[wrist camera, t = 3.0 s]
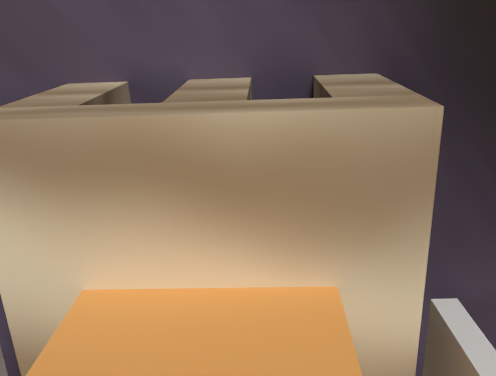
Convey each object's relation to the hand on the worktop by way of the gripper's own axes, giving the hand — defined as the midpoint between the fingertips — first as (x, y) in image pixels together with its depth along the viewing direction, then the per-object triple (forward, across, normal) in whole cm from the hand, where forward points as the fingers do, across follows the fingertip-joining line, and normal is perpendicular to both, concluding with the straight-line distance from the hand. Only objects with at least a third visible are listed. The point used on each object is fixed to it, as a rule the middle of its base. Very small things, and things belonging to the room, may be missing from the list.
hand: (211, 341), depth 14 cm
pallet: (+4, 0, 0) cm, 4 cm away
